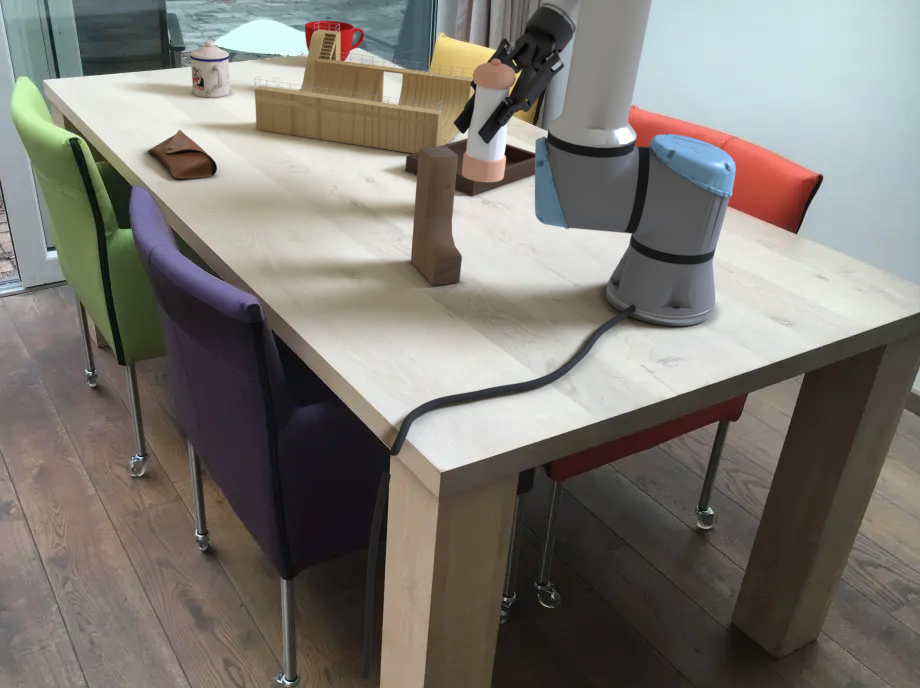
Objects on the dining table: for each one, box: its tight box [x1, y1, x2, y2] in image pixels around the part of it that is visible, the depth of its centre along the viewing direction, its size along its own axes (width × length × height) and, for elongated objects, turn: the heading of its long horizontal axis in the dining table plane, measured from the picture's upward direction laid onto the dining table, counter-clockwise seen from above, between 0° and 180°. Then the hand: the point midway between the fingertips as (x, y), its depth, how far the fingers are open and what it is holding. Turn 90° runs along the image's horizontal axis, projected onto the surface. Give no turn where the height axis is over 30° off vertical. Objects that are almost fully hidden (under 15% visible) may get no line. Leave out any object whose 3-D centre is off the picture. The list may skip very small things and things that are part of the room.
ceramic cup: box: [304, 20, 365, 61], centre depth 243 cm, size 13×17×10 cm
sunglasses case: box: [147, 129, 218, 180], centre depth 172 cm, size 18×7×7 cm
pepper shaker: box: [462, 59, 517, 182], centre depth 150 cm, size 7×7×19 cm
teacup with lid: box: [189, 40, 231, 99], centre depth 211 cm, size 12×9×12 cm
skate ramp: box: [253, 22, 476, 154], centre depth 198 cm, size 40×35×16 cm
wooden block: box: [410, 146, 463, 286], centre depth 132 cm, size 9×4×18 cm, turn 20°
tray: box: [404, 138, 535, 197], centre depth 176 cm, size 22×17×3 cm
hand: (470, 133), depth 150 cm, fingers closed on pepper shaker, 5 cm apart
